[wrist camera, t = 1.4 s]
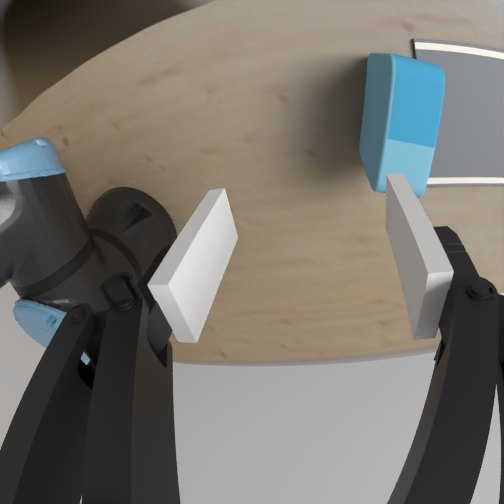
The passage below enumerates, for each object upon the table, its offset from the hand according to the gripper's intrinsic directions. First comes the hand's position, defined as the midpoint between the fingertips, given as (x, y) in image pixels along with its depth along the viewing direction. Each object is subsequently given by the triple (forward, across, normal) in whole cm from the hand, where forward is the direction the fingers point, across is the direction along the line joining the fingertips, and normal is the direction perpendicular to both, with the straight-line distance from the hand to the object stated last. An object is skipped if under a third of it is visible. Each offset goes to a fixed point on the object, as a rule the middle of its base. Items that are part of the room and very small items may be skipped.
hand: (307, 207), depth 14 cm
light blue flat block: (+23, +8, 0) cm, 25 cm away
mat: (+23, +22, -1) cm, 32 cm away
